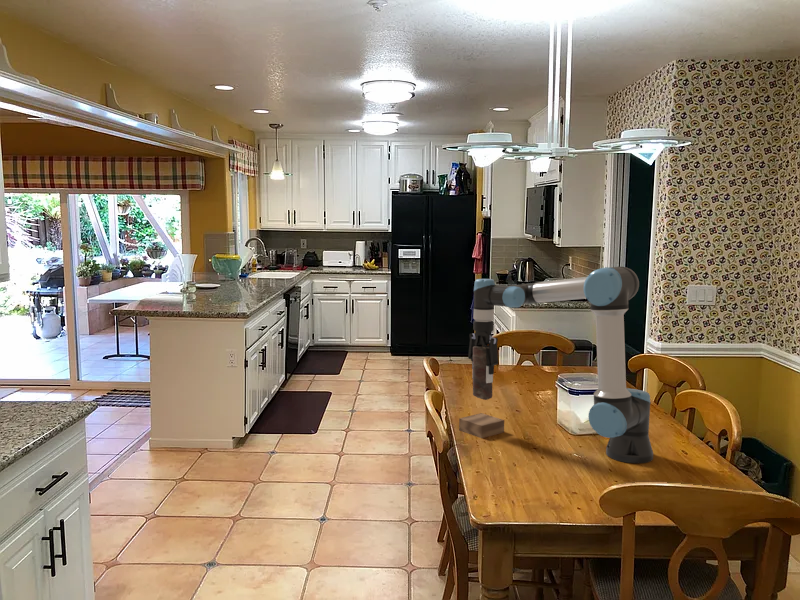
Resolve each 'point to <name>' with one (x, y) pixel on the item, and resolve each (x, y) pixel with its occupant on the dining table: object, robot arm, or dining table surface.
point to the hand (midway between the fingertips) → (482, 380)
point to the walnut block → (481, 425)
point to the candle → (480, 374)
